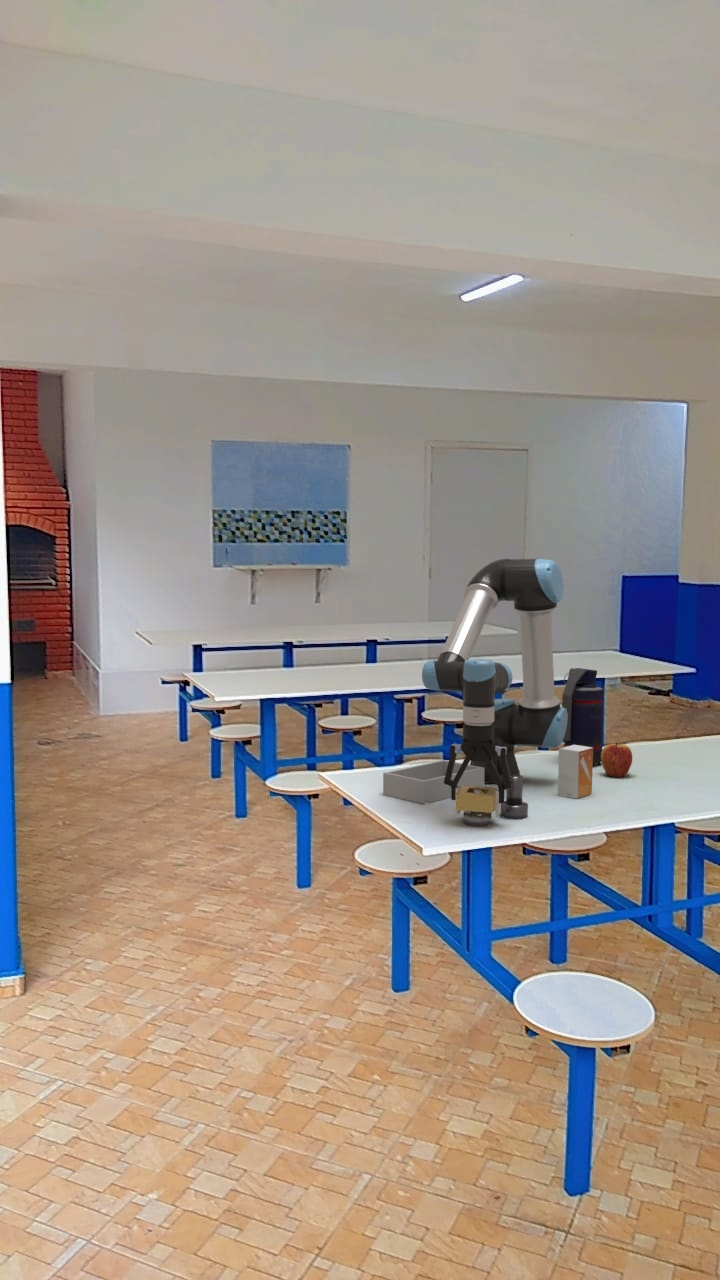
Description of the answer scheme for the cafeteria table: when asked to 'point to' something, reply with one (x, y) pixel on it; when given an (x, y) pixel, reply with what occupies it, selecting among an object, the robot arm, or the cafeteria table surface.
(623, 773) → the apple
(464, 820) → the cylinder
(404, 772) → the gray bin
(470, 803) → the gold square ring
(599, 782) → the cafeteria table surface
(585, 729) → the grenade
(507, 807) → the dark grey round-headed cylinder
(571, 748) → the small box
